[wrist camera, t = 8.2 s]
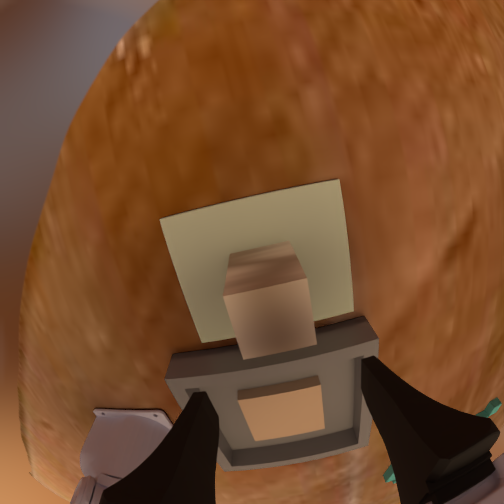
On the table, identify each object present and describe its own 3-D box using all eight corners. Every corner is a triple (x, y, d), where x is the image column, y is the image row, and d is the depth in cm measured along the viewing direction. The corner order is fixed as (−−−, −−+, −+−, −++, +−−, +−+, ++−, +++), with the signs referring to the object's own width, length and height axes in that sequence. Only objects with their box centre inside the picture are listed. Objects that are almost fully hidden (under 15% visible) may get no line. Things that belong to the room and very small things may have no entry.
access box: (225, 450, 27) (224, 471, 24) (172, 353, 22) (164, 379, 19) (360, 424, 26) (368, 445, 23) (364, 315, 21) (378, 338, 18)
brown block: (244, 305, 20) (243, 359, 15) (229, 253, 19) (222, 296, 13) (299, 293, 20) (317, 344, 14) (289, 240, 19) (306, 278, 13)
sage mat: (202, 339, 22) (201, 342, 21) (161, 218, 18) (159, 219, 18) (352, 308, 21) (353, 311, 21) (337, 178, 18) (339, 179, 17)
